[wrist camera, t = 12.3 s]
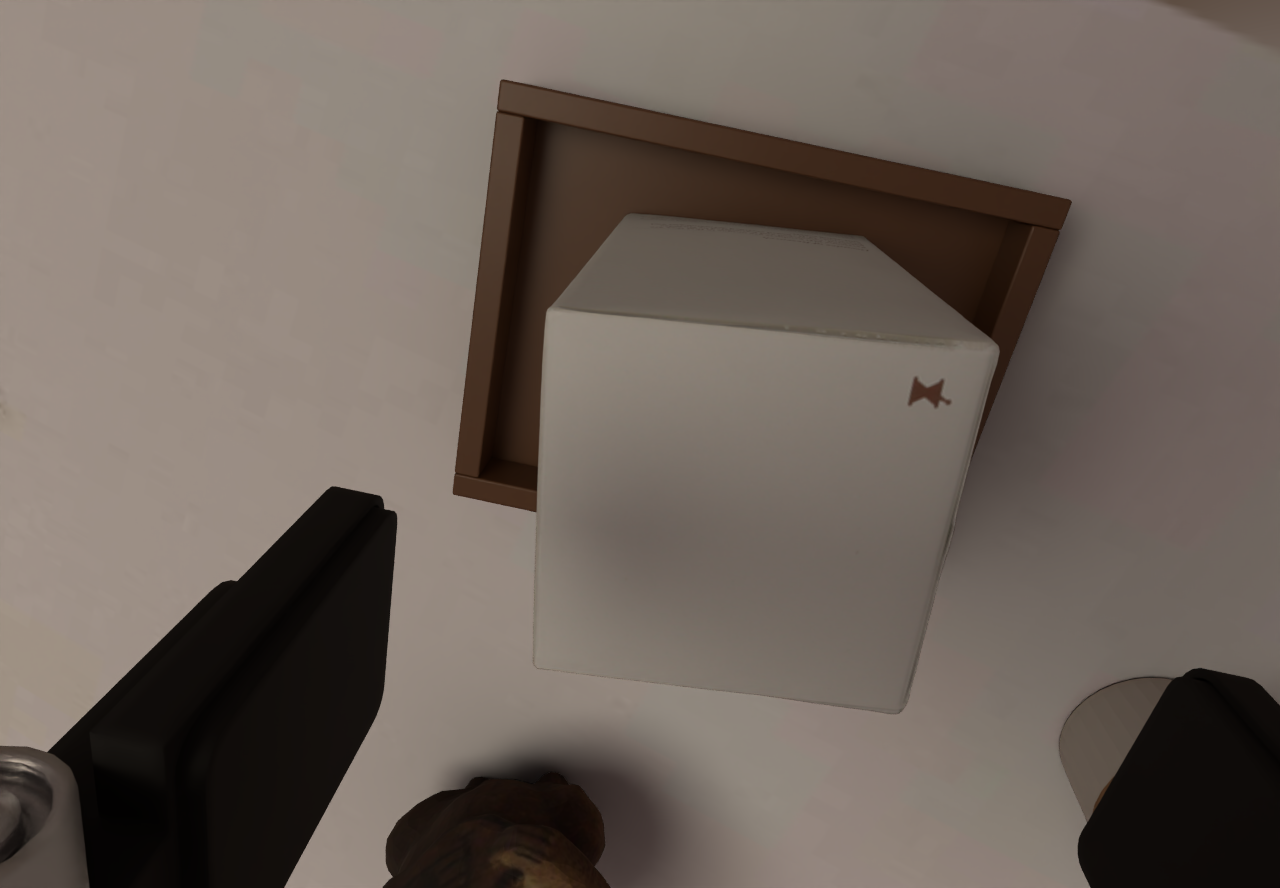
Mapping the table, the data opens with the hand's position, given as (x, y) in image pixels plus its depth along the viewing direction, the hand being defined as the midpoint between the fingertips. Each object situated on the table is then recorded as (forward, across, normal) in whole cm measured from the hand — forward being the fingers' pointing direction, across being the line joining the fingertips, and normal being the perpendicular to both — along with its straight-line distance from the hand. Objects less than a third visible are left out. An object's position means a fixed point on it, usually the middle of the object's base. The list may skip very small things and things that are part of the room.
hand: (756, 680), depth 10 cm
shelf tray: (+18, 0, +1) cm, 18 cm away
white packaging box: (+17, 0, 0) cm, 17 cm away
